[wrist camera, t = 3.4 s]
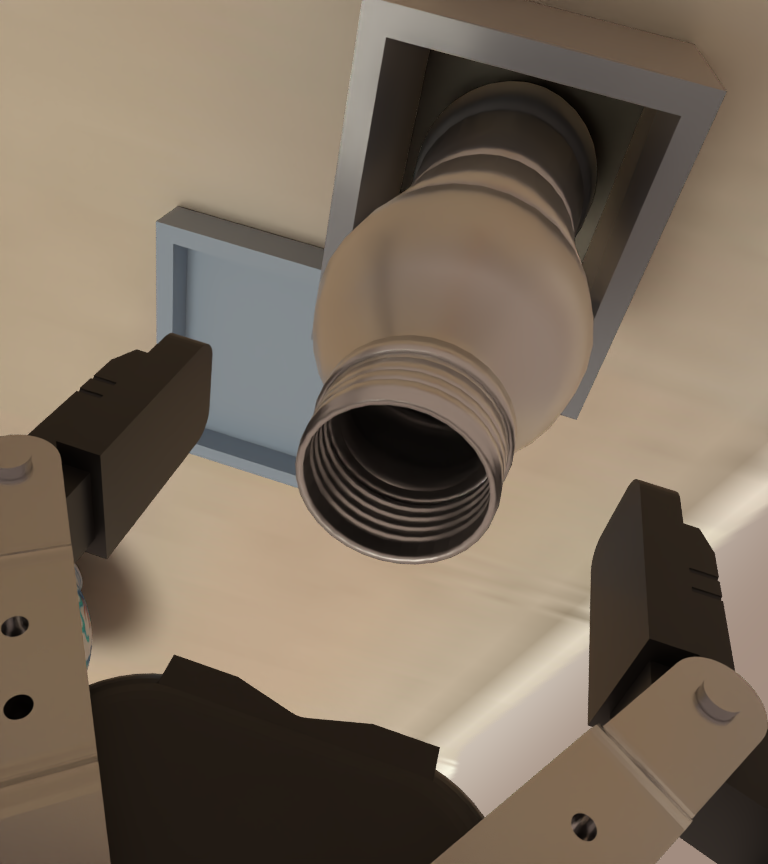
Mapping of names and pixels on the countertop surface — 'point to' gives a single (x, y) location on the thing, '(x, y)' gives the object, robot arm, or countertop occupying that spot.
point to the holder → (550, 60)
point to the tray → (244, 334)
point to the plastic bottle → (451, 328)
